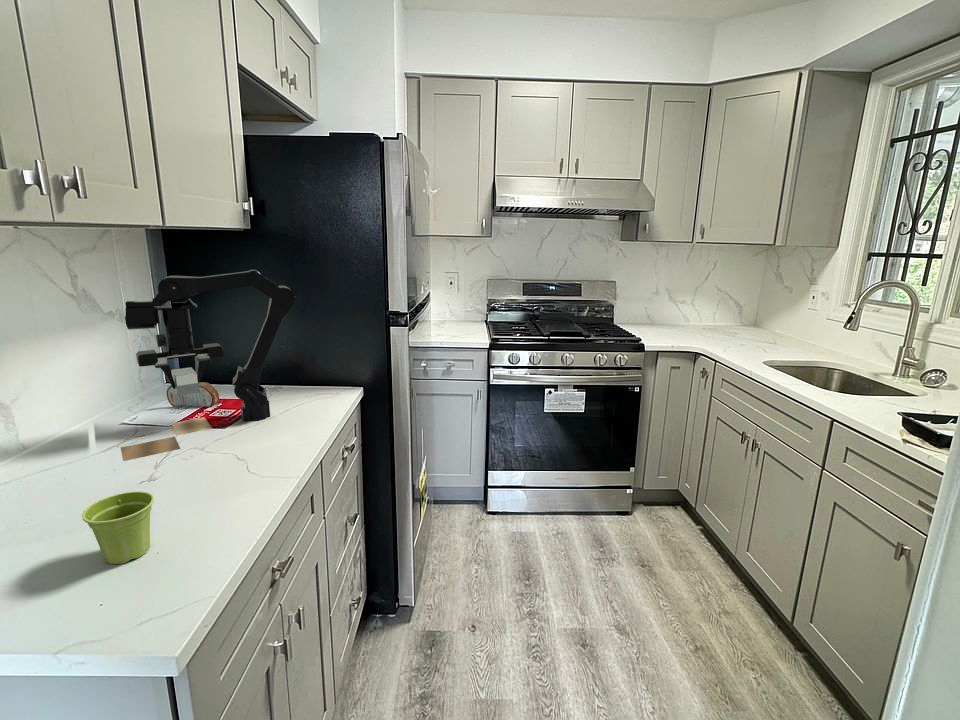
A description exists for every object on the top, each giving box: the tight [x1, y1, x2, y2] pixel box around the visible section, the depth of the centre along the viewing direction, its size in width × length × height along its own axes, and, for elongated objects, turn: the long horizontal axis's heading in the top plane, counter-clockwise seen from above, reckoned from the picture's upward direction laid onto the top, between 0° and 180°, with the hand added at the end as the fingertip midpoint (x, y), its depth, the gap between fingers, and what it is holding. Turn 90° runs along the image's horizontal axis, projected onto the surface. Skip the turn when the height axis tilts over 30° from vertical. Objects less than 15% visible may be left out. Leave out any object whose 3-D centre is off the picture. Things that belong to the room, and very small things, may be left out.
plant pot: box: [81, 490, 155, 565], centre depth 80 cm, size 9×9×9 cm
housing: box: [171, 367, 200, 396], centre depth 127 cm, size 5×8×5 cm, turn 38°
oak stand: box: [170, 416, 213, 436], centre depth 130 cm, size 8×10×2 cm
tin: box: [166, 381, 220, 408], centre depth 146 cm, size 15×3×8 cm, turn 84°
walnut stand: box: [120, 436, 182, 462], centre depth 117 cm, size 11×9×2 cm
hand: (185, 386), depth 127 cm, fingers closed on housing, 5 cm apart
